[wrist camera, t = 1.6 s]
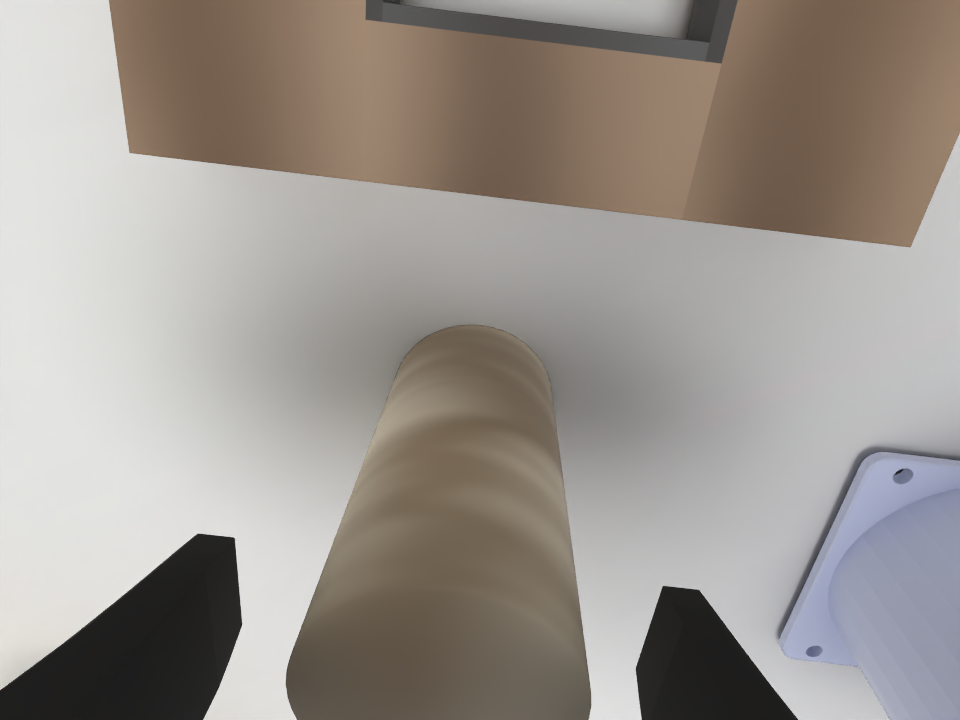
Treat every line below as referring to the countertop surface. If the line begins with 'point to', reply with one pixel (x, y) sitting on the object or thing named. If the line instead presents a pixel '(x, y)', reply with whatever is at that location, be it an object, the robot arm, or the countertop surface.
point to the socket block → (567, 104)
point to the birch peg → (451, 553)
